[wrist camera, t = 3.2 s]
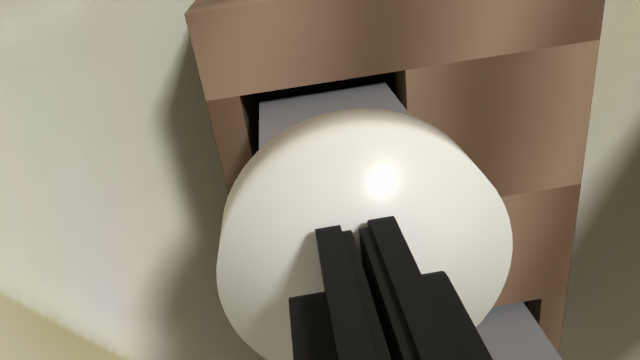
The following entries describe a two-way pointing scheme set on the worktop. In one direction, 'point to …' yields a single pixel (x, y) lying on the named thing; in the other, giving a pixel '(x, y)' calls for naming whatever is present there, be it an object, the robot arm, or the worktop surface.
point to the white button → (352, 207)
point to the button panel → (433, 97)
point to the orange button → (515, 335)
